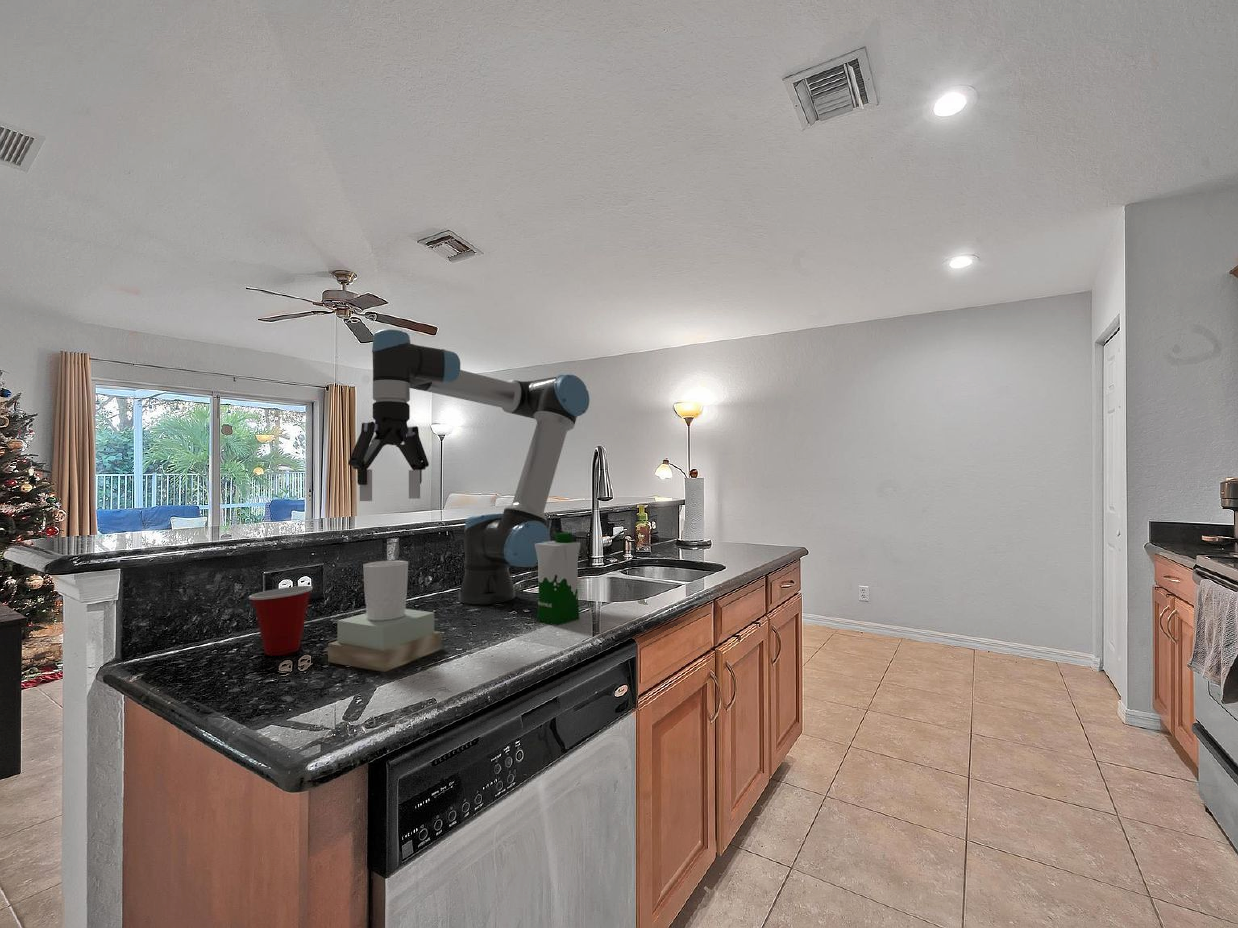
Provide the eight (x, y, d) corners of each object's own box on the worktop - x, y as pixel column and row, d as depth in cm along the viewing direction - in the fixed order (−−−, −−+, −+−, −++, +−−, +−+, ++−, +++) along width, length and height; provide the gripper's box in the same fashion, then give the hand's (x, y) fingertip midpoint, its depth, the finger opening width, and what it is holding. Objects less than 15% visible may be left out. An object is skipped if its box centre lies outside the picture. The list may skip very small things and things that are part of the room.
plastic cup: (272, 642, 116) (273, 583, 116) (324, 643, 115) (324, 583, 115) (233, 660, 105) (234, 594, 105) (290, 660, 104) (290, 595, 105)
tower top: (390, 626, 115) (390, 606, 115) (434, 633, 110) (434, 612, 110) (337, 642, 104) (337, 620, 104) (383, 650, 99) (383, 627, 99)
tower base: (387, 644, 116) (387, 624, 116) (441, 652, 111) (441, 631, 111) (328, 665, 103) (328, 643, 104) (385, 675, 98) (385, 652, 98)
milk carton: (585, 619, 133) (584, 533, 133) (556, 627, 126) (555, 536, 126) (559, 613, 138) (558, 531, 139) (530, 620, 132) (530, 534, 132)
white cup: (394, 609, 112) (394, 559, 113) (416, 615, 107) (416, 562, 108) (355, 617, 106) (355, 564, 106) (376, 624, 101) (376, 567, 101)
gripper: (419, 409, 137) (419, 497, 136) (329, 396, 114) (329, 502, 113) (444, 407, 134) (444, 497, 133) (356, 393, 111) (356, 502, 110)
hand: (391, 499), depth 123 cm, fingers open, 13 cm apart
